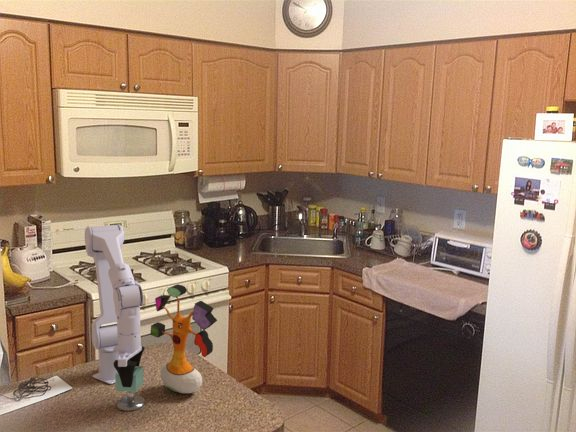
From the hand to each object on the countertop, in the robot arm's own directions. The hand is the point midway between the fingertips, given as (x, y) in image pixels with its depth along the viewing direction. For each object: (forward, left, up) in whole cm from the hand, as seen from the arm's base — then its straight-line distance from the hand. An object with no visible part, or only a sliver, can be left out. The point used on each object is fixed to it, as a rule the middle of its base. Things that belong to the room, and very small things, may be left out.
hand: (130, 380), depth 144 cm
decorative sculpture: (-13, +6, -7) cm, 16 cm away
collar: (0, 0, -2) cm, 2 cm away
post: (0, 0, -7) cm, 7 cm away
